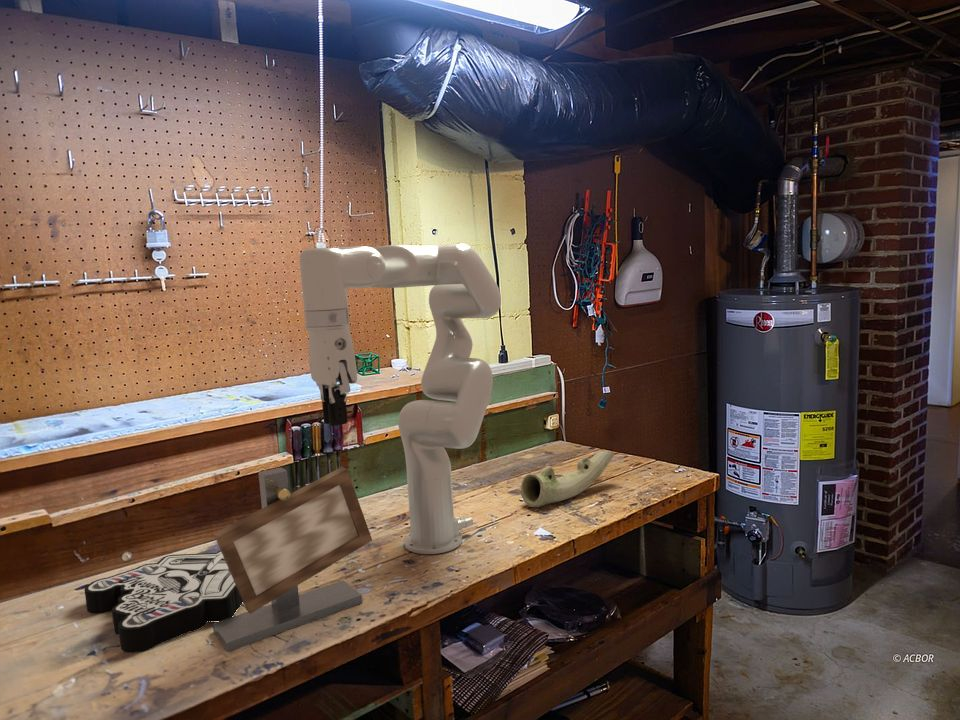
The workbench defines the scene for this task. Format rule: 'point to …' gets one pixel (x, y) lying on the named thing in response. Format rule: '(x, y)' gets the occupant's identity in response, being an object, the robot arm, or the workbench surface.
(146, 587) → the decorative sign
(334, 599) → the tabletop sign stand
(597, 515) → the workbench surface
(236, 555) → the picture frame
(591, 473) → the pipe
